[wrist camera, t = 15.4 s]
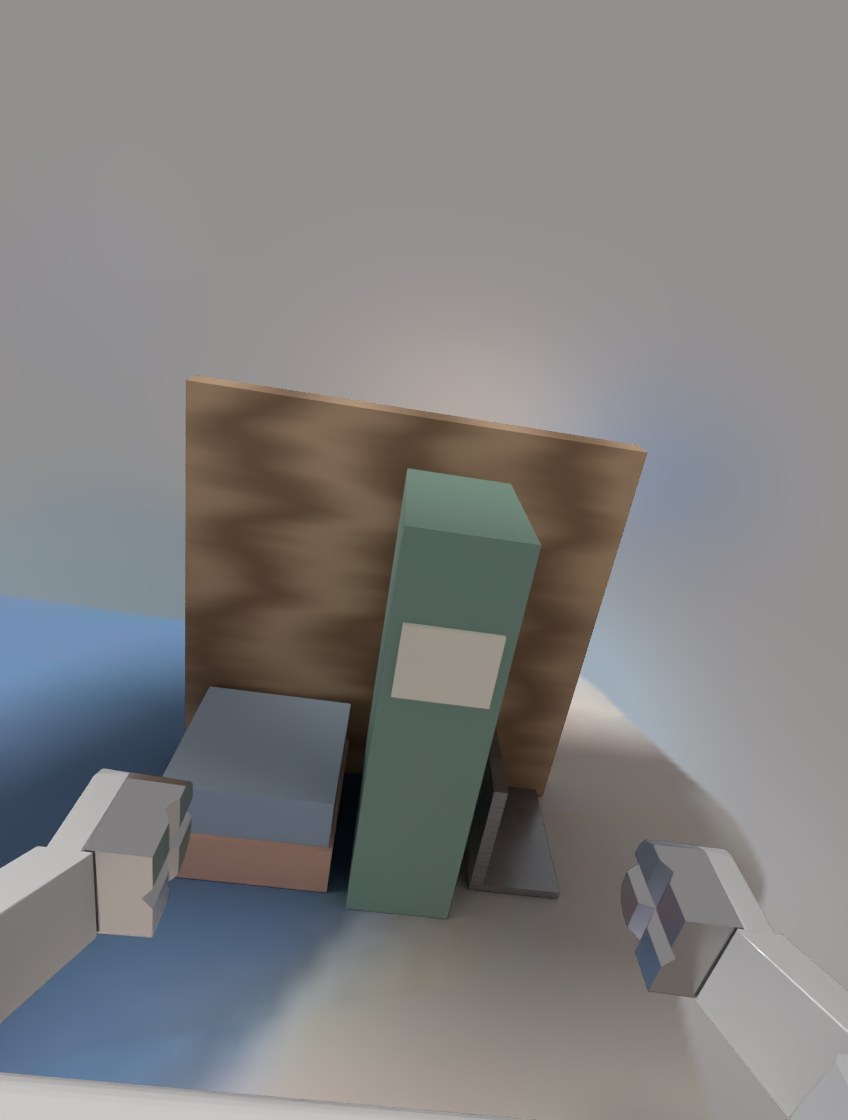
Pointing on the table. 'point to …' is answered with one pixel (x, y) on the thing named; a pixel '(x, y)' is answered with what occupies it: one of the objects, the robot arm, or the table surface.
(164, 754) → the table surface
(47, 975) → the robot arm
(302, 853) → the book stack
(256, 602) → the shelf wall
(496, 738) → the bookend
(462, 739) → the green book
